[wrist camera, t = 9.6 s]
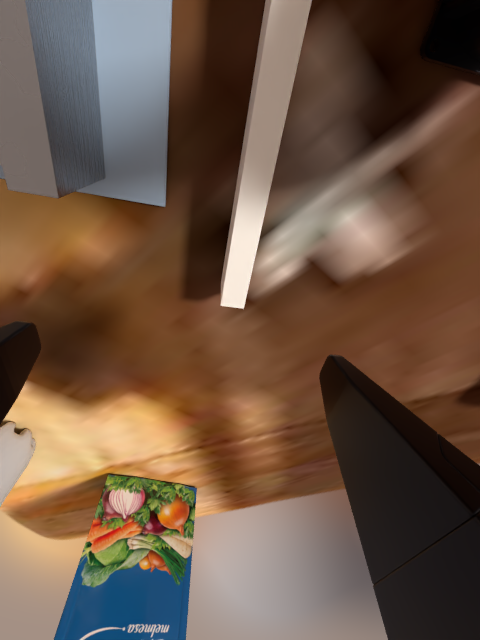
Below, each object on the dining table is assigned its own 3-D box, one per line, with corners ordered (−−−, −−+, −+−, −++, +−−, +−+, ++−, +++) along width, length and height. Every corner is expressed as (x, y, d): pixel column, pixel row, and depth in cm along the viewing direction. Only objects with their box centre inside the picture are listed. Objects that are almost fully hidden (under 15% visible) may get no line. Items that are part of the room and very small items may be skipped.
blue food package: (108, 471, 36) (-39, 916, 16) (197, 485, 40) (169, 871, 19) (101, 493, 40) (-30, 889, 19) (184, 504, 43) (147, 853, 22)
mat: (172, -18, 13) (171, -20, 13) (165, 205, 19) (164, 206, 18) (-72, -87, 12) (-79, -92, 11) (-2, 176, 17) (-5, 177, 17)
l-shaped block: (331, -159, 11) (369, -260, 8) (241, 285, 22) (243, 308, 19) (-298, -402, 8) (-572, -682, 5) (-45, 245, 19) (-92, 265, 16)
